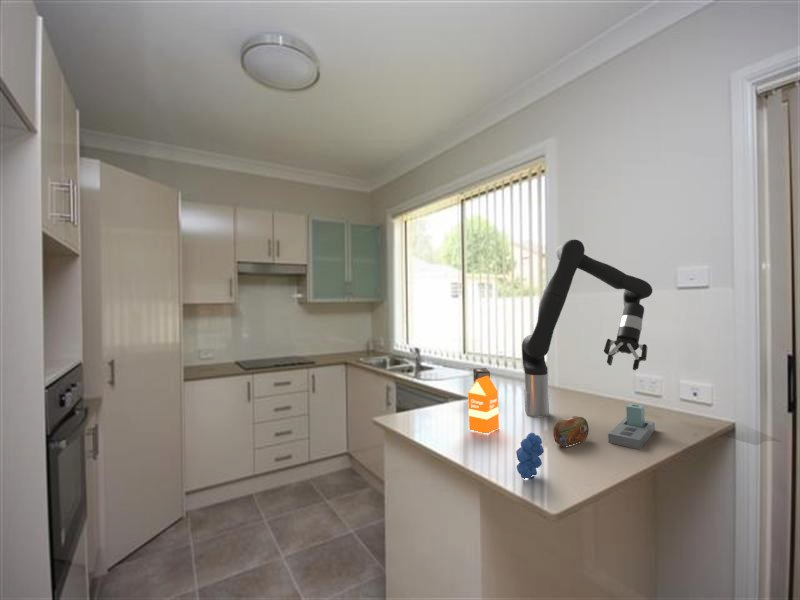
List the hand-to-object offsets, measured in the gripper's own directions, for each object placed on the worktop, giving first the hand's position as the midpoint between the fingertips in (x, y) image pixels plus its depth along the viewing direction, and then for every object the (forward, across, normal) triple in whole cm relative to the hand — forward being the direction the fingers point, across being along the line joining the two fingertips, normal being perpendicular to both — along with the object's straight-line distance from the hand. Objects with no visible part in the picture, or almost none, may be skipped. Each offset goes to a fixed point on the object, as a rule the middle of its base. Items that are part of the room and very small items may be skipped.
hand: (621, 367), depth 143 cm
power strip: (+25, +9, -7) cm, 27 cm away
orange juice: (+41, -32, -30) cm, 60 cm away
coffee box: (+31, -52, -3) cm, 60 cm away
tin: (+34, -4, -24) cm, 42 cm away
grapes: (+47, -4, -52) cm, 70 cm away
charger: (+22, +9, -2) cm, 24 cm away
